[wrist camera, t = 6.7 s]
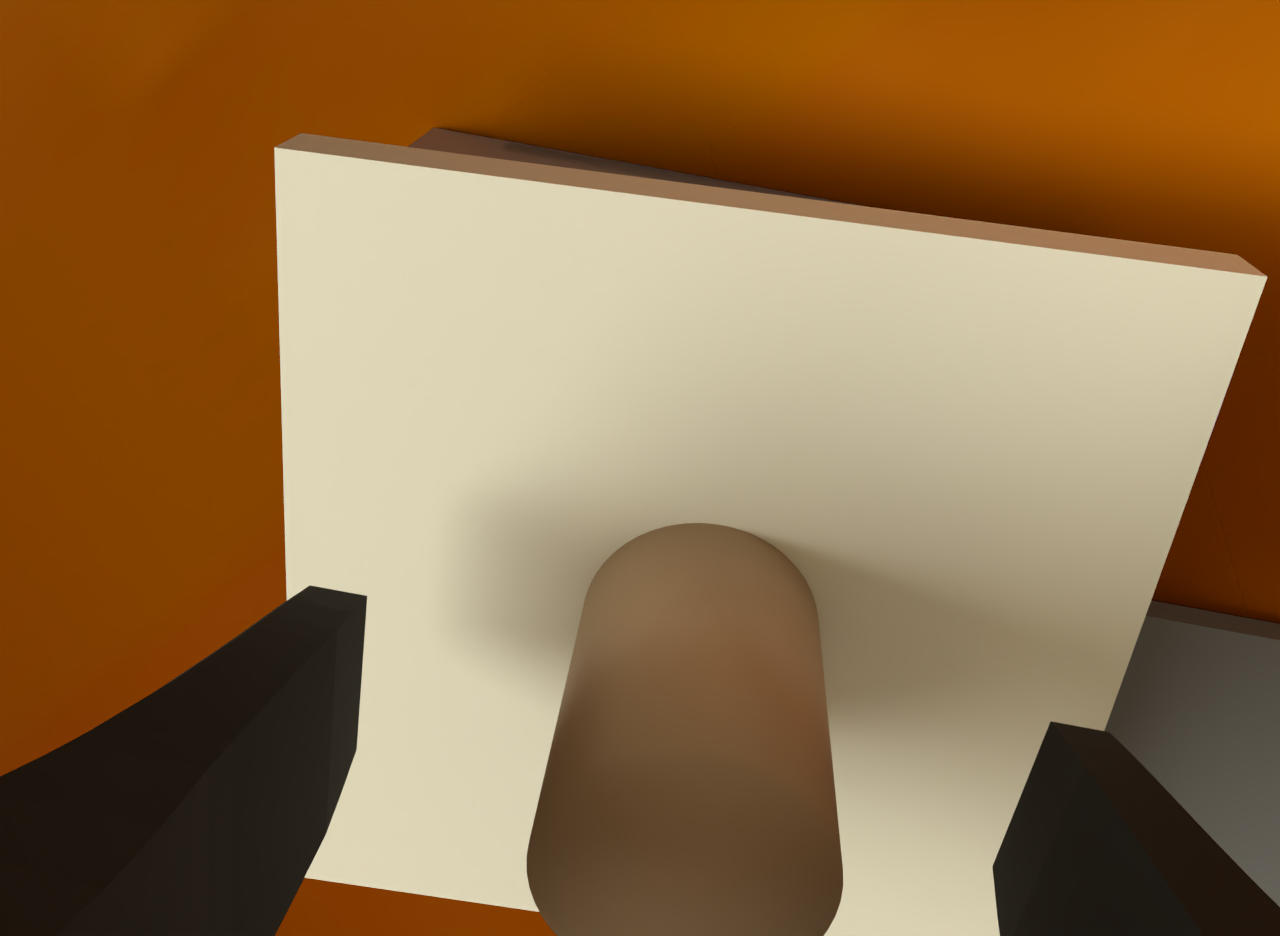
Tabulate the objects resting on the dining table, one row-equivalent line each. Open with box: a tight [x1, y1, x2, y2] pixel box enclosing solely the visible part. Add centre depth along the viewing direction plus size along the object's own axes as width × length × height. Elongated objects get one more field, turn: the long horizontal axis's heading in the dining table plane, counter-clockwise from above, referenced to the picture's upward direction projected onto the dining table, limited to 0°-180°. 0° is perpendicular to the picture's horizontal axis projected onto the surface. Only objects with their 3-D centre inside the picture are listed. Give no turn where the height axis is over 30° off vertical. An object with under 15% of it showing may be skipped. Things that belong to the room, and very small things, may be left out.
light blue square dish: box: [408, 128, 867, 207], centre depth 16 cm, size 9×9×3 cm
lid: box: [274, 133, 1267, 936], centre depth 13 cm, size 10×10×5 cm
